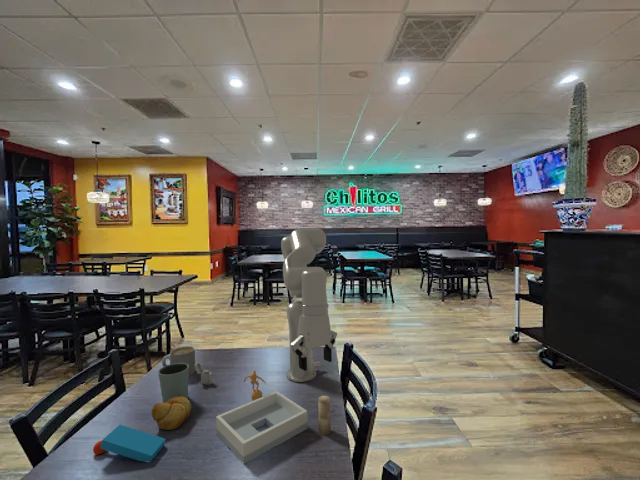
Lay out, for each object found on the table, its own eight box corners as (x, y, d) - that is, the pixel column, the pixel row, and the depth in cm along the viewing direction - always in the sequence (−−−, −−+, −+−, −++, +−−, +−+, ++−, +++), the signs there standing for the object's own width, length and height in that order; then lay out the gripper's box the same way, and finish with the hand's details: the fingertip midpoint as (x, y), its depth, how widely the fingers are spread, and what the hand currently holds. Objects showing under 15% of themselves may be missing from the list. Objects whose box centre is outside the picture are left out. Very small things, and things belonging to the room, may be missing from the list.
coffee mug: (199, 367, 144) (198, 346, 143) (189, 377, 134) (188, 354, 134) (170, 367, 144) (169, 346, 144) (158, 377, 134) (157, 354, 134)
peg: (325, 425, 99) (324, 394, 99) (332, 431, 96) (332, 398, 96) (316, 430, 97) (315, 398, 96) (324, 436, 94) (323, 403, 94)
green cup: (194, 399, 116) (193, 367, 116) (166, 411, 109) (164, 377, 108) (182, 390, 123) (181, 360, 123) (155, 401, 116) (153, 368, 115)
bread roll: (176, 408, 111) (175, 386, 110) (200, 411, 108) (200, 388, 108) (148, 431, 98) (147, 406, 98) (175, 435, 96) (174, 409, 96)
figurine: (269, 399, 116) (268, 366, 115) (263, 408, 110) (262, 374, 109) (248, 397, 117) (247, 365, 117) (241, 405, 111) (240, 372, 111)
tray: (276, 406, 111) (276, 391, 110) (307, 428, 98) (307, 411, 98) (216, 434, 96) (216, 416, 96) (243, 464, 83) (243, 443, 83)
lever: (160, 461, 91) (102, 443, 92) (165, 438, 91) (108, 420, 92) (145, 480, 85) (83, 460, 86) (151, 455, 84) (89, 436, 85)
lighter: (212, 382, 129) (211, 363, 129) (209, 384, 127) (209, 365, 127) (197, 381, 131) (196, 362, 130) (194, 383, 129) (193, 363, 129)
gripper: (327, 303, 106) (329, 354, 106) (284, 312, 95) (285, 369, 95) (343, 307, 100) (344, 361, 100) (298, 316, 89) (299, 377, 89)
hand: (315, 364), depth 97 cm, fingers open, 9 cm apart
